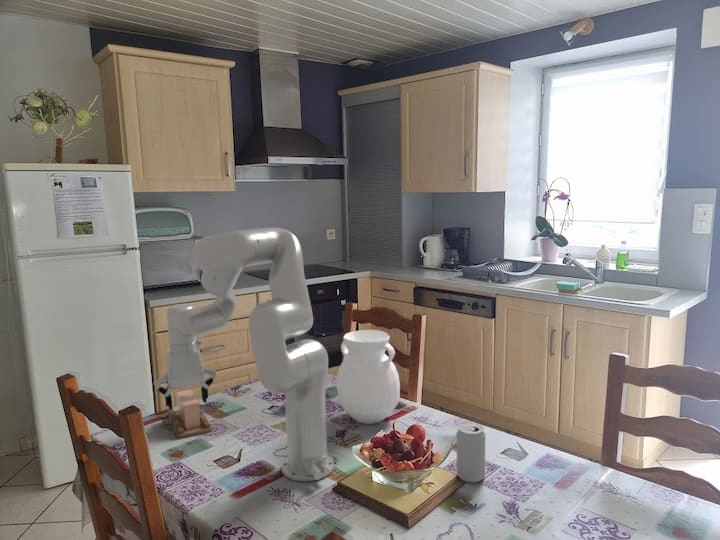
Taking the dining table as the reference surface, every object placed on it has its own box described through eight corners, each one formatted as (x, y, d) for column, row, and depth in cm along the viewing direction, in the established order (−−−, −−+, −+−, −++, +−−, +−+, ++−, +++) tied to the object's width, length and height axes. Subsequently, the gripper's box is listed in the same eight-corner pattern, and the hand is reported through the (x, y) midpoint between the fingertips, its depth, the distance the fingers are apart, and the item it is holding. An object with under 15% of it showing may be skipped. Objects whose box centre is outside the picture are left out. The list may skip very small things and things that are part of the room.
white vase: (324, 422, 155) (321, 338, 152) (359, 401, 170) (358, 324, 167) (379, 437, 145) (377, 347, 141) (411, 413, 160) (411, 331, 156)
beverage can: (483, 486, 120) (483, 435, 118) (454, 481, 122) (454, 432, 120) (486, 472, 126) (487, 424, 124) (459, 468, 128) (459, 420, 126)
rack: (211, 431, 151) (211, 424, 151) (178, 439, 147) (177, 431, 146) (198, 409, 167) (197, 402, 166) (167, 415, 162) (167, 408, 162)
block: (192, 411, 163) (190, 389, 162) (200, 426, 152) (198, 402, 151) (178, 414, 161) (176, 392, 160) (185, 429, 150) (184, 405, 149)
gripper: (210, 340, 161) (214, 394, 163) (149, 349, 153) (154, 406, 155) (216, 346, 154) (220, 402, 157) (153, 355, 146) (158, 415, 148)
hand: (187, 404), depth 156 cm, fingers open, 9 cm apart
